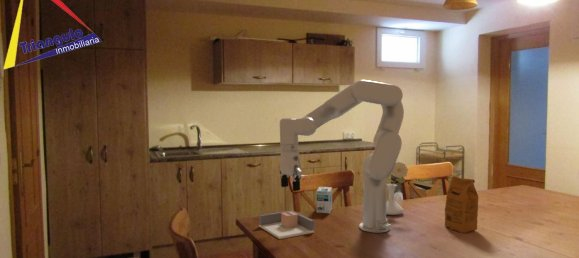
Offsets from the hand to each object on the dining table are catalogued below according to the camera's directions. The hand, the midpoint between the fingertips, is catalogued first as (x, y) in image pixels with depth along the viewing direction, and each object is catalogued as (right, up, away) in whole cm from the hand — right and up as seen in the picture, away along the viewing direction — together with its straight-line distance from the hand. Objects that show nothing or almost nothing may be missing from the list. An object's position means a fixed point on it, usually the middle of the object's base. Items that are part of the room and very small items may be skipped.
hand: (290, 188), depth 169 cm
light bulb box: (+17, -15, +29) cm, 37 cm away
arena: (-2, -17, -1) cm, 17 cm away
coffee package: (+71, -17, 0) cm, 73 cm away
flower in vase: (+49, -16, +23) cm, 56 cm away
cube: (0, -16, +1) cm, 16 cm away
